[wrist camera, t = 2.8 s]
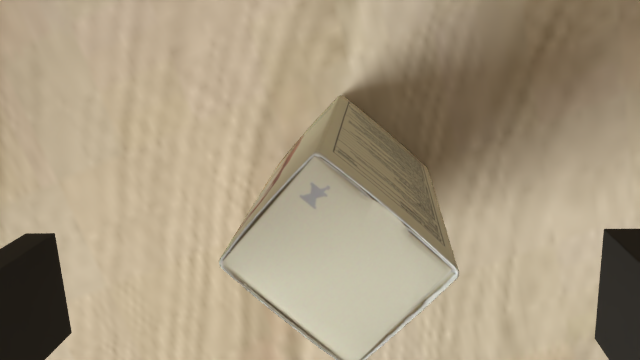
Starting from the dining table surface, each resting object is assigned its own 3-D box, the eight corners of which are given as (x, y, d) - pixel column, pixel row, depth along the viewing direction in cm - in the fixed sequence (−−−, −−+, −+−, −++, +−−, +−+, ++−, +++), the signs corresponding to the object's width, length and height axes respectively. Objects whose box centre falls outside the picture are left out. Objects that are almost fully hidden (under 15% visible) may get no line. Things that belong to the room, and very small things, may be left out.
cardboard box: (274, 167, 25) (205, 258, 16) (342, 90, 24) (312, 137, 14) (364, 245, 26) (351, 381, 16) (435, 174, 25) (466, 273, 15)
